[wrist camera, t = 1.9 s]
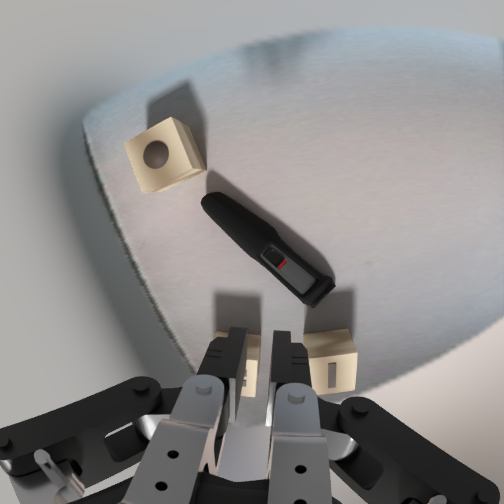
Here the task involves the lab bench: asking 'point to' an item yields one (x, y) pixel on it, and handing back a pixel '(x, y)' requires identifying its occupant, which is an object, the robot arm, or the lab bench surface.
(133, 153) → the maple block
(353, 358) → the maple block
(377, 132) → the lab bench surface
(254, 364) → the maple block
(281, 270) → the electric trimmer
